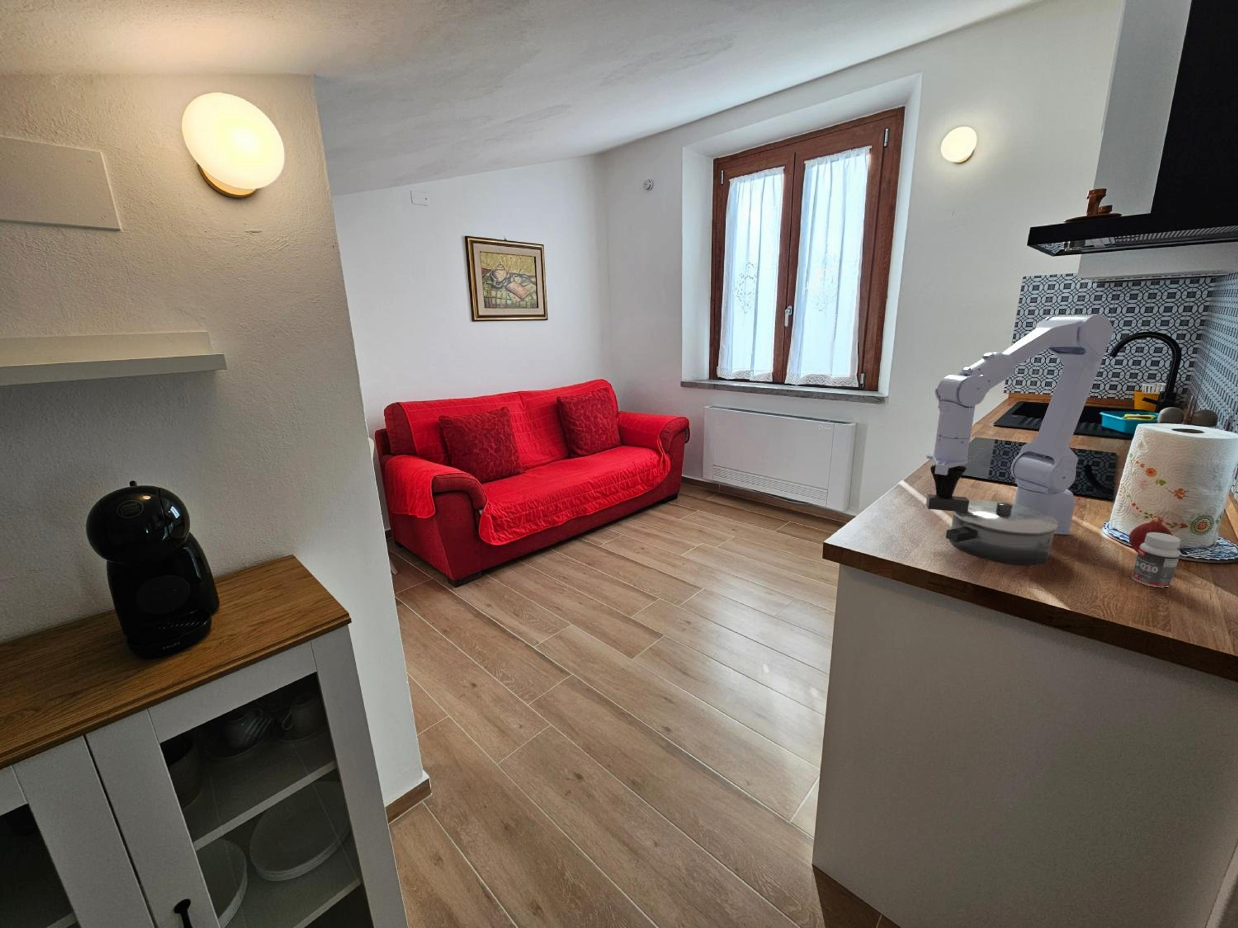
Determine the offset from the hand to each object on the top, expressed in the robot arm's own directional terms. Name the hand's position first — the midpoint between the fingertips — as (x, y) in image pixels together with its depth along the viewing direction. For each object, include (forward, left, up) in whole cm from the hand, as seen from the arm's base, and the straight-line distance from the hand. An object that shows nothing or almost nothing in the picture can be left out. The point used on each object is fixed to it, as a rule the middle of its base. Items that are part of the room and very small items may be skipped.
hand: (943, 500), depth 107 cm
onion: (-33, +7, -8) cm, 35 cm away
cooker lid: (-7, +4, -2) cm, 8 cm away
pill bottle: (-27, +17, -8) cm, 33 cm away
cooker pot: (-7, +6, -8) cm, 12 cm away
